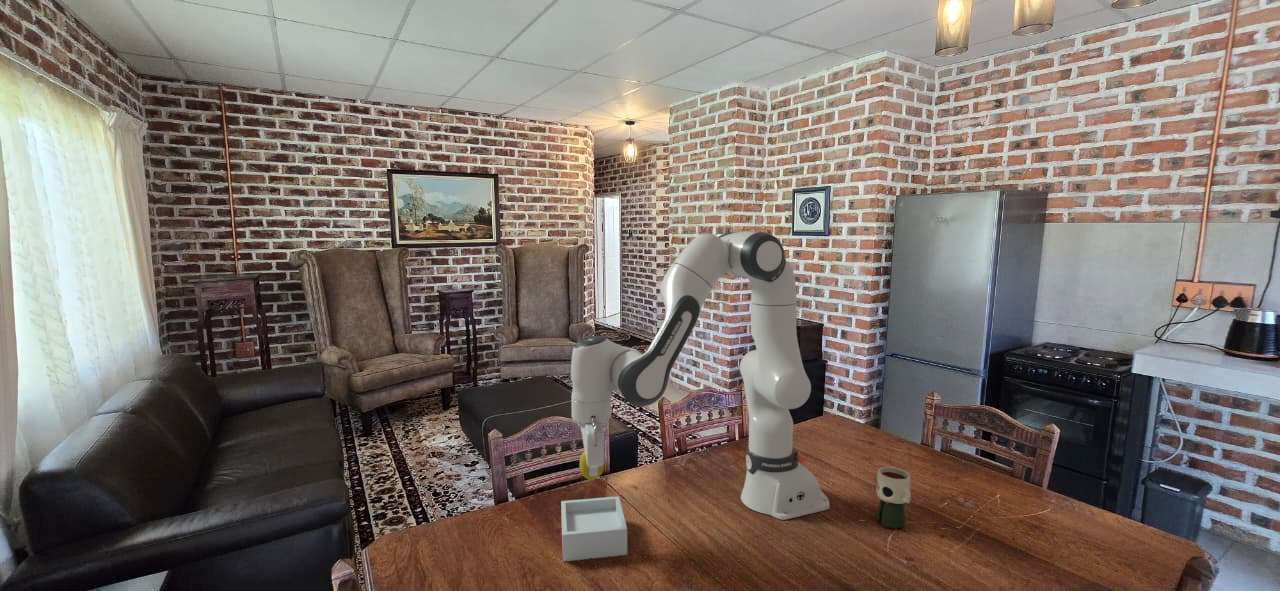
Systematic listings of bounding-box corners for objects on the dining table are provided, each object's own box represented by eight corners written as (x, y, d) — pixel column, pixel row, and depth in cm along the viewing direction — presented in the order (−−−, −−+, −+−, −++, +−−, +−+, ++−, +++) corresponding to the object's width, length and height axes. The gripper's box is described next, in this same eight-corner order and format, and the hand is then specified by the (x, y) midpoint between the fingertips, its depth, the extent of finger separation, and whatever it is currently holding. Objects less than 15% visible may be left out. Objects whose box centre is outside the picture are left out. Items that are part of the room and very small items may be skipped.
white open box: (618, 521, 129) (618, 496, 128) (627, 556, 115) (627, 528, 114) (561, 526, 126) (561, 501, 125) (563, 562, 113) (562, 534, 112)
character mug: (863, 513, 132) (866, 464, 130) (887, 509, 133) (890, 461, 131) (893, 538, 121) (897, 485, 119) (919, 534, 123) (923, 481, 121)
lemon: (600, 487, 115) (600, 453, 114) (576, 485, 117) (575, 451, 116) (606, 476, 121) (606, 443, 120) (583, 473, 122) (583, 441, 121)
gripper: (611, 425, 107) (611, 489, 109) (601, 394, 127) (601, 448, 129) (580, 427, 106) (581, 491, 108) (574, 395, 126) (575, 450, 128)
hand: (592, 467), depth 118 cm, fingers closed on lemon, 5 cm apart
